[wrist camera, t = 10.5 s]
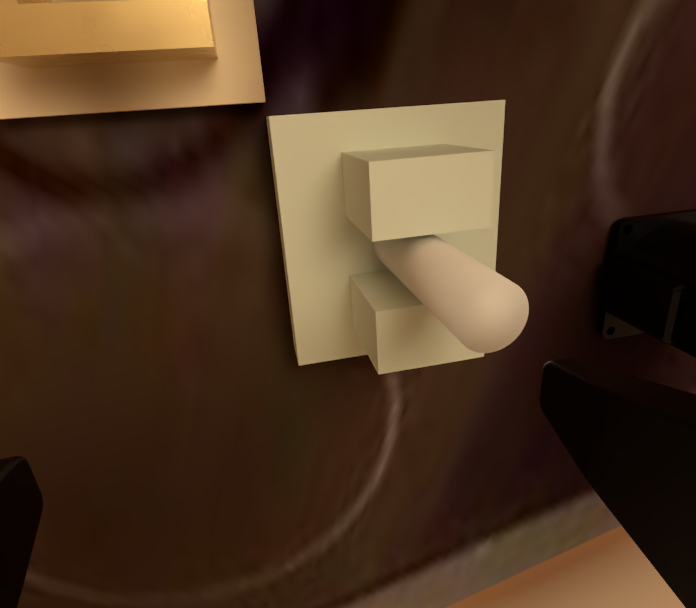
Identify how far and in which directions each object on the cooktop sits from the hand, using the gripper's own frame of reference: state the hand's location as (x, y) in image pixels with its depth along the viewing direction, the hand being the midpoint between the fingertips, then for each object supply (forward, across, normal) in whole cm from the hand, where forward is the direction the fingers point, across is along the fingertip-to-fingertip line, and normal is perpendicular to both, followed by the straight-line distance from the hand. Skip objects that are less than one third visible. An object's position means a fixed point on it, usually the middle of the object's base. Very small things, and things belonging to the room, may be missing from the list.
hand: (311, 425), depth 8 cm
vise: (+13, -5, 0) cm, 14 cm away
